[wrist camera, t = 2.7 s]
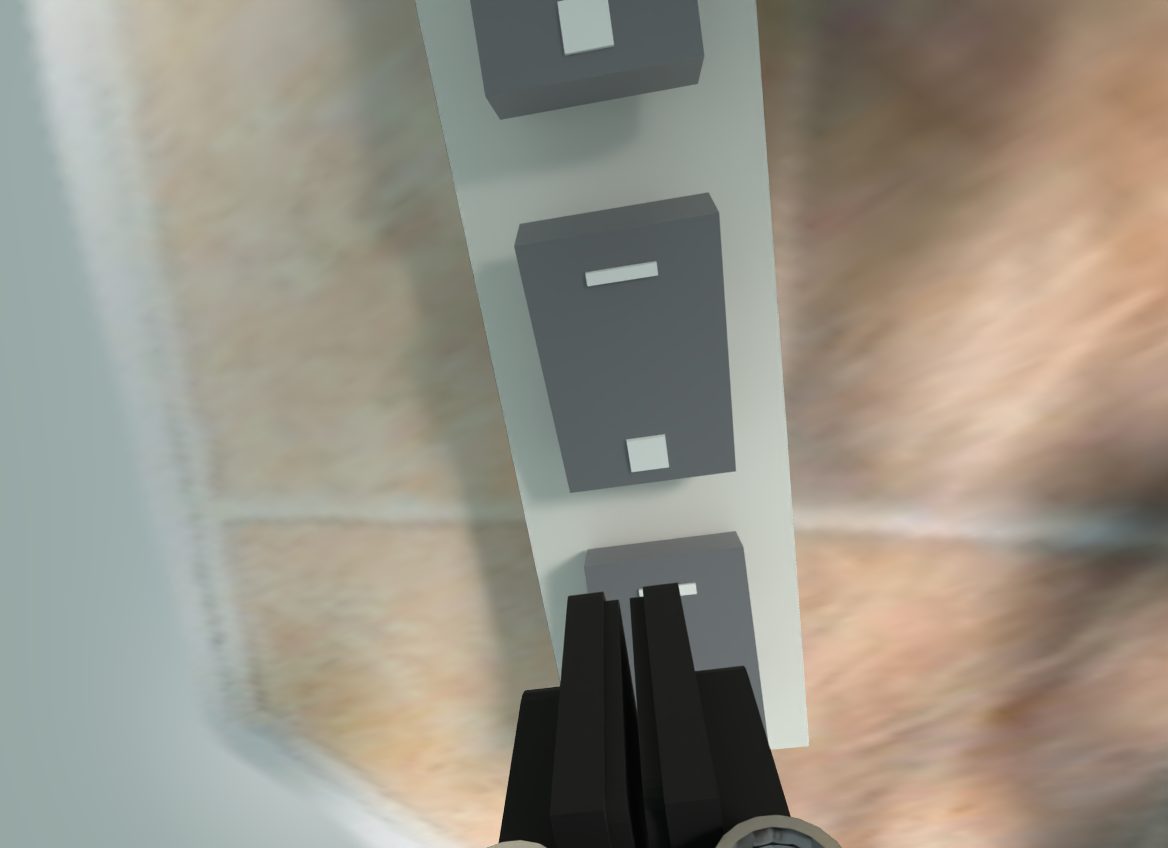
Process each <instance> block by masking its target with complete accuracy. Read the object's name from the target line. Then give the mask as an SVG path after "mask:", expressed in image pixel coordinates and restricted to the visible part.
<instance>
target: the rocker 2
mask: <svg viewBox="0 0 1168 848" xmlns="http://www.w3.org/2000/svg"><path fill="white" fill-rule="evenodd" d="M514 249H515V253H516V257H517V262H518V266H519V271H520V275H521V279H522V284H523V288H524V293H525V297H526V301H527V306H528V310H529V315H530V319H531V323H532V328H533V332H534V337H535V341H536V345H537V350H538V354H539V359H540V363H541V367H542V372H543V376H544V381H545V385H546V389H547V394H548V398H549V402H550V407H551V411H552V416H553V420H554V424H555V429H556V433H557V438H558V442H559V446H560V451H561V455H562V460H563V464H564V468H565V473H566V477H567V482H568V486H569V490H570V493H574V492H582V491H589V490H597V489H605V488H612V487H620V486H628V485H635V484H643V483H651V482H658V481H666V480H674V479H681V478H689V477H696V476H704V475H712V474H719V473H727V472H735V471H736V463H735V447H734V432H733V417H732V401H731V386H730V370H729V355H728V340H727V324H726V309H725V293H724V278H723V263H722V247H721V232H720V216H719V211H718V209H717V207H716V205H715V204H714V202H713V200H712V198H711V196H710V194H709V192H707V193H701V194H695V195H689V196H683V197H677V198H671V199H665V200H659V201H653V202H647V203H641V204H635V205H629V206H624V207H618V208H612V209H606V210H600V211H594V212H588V213H582V214H576V215H570V216H564V217H558V218H552V219H546V220H540V221H534V222H528V223H522V224H520V225H519V229H518V232H517V236H516V240H515V244H514Z"/></svg>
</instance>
